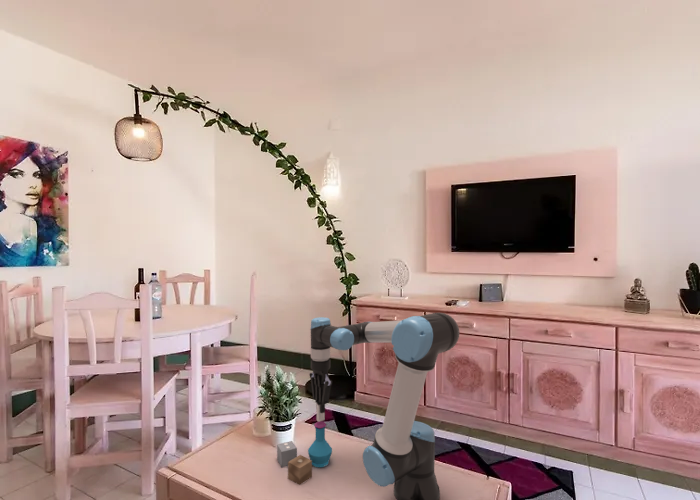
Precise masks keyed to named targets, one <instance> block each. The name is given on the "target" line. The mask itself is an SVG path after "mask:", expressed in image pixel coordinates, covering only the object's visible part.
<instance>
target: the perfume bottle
mask: <svg viewBox="0 0 700 500" xmlns="http://www.w3.org/2000/svg"><path fill="white" fill-rule="evenodd" d="M313 426H314V429H315V439H314V440H313V442H312V444H310V446H309V448H308V449H307V453H308V458H309V459H310V460H312V467H315V468H324V467H326V466H328V465H329V461H330V459H331V456H332V453H333V448H332V447H331V445H330V443H329V442H328V441H327V440H326V435H325V434H326V431H325V430H326V427H327V423H326V422H325V421H324V420H323V421H320V422H318V421H317V422H315V423H314V425H313Z"/></svg>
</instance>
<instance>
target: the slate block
mask: <svg viewBox="0 0 700 500" xmlns="http://www.w3.org/2000/svg"><path fill="white" fill-rule="evenodd" d="M297 456H298V447H297V446H296V444H295V443H294V442H293V441H292V440H290V441H286V442H281V443H277V444H276V460H277V463H278V465H279V466H280V468H285V467H288V462H289V461H291V460H292V459H294V458H296V457H297Z"/></svg>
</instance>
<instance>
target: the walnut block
mask: <svg viewBox="0 0 700 500" xmlns="http://www.w3.org/2000/svg"><path fill="white" fill-rule="evenodd" d="M312 477H313V465H312V460H310V458H309V457H308V458H307V457H305V456H303V455H301V454H299V455H297V457H296V458H294V459H292V460H291V461H289V462H288V466H287V479H288V480H289V481H292V482H294V483H295V484H297V485H299V486H301V485H302V484H304V483H305V482H307V481H309V480H310V479H311V478H312Z"/></svg>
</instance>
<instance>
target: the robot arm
mask: <svg viewBox="0 0 700 500" xmlns="http://www.w3.org/2000/svg"><path fill="white" fill-rule="evenodd" d="M310 321H311V322H310V329H309V330H310V369H311V370H312V372H310V373H309V374H308V375H309V378H310V384H311V392H312V400H314V401H315V403H316V404H315V405H316V406H315V407H316V421H317V422H320V421H323V422H324V421H325V417H326V416H325V415H326V412H325V411H326V405H327V404H329V401H330V396H331V388H332V385H333V380H332V379H330V378H329V370H330V369H331V359H330V358H331V348H333V349H335V350H338V351H348V350H350V349H351V348H352V347H353V346H356V345H360V344H368V343H369V344H371V343H376V344H377V343H380V344H381V343H384V344H385V343H390V344H391V345H392V346H393V347H392V350H393V352H394V357H395V360H396V361H397V364H398V365H397V368H396V372H395V374H394V375H395V376H394V379H393V384H392V387H391V393H390V396H389V400H388V403H387V408H386V412H385V416H384V420H383V424H382V426H381V427H379V428H378V429H377V430H376V432H375V435H374V438H373V443H372V444H371V445H367V447H366V448H364V450H363V453H362V461H363V463H362V464H363V466H364V468H365V471H366V473H367V475H368V477H369V478H370V479H371V480H372V481H373V483H374V484H375V485H377V486H379V487H388V486H389V485H393V495H394V497H395V499H396V500H440V498H441V495H440V492H441V491H440V486H439V484H438V480H437V477H436V473H435V460H436V459H435V455H436V454H435V452H436V451H435V447H436V446H435V443H436V439H435V432H434V429H433V428H432V427H431V426H430V425H429V424H427V423H425V422H421V421H417V420H415V419H416V415H417V412H418V407H419V404H420V400H421V397H422V395H423V394H422V393H423V390H424V387H425V383H426V379H427V375H428V373H429V372H432V371H433V370H434V369H435V366H436V363H437V359H438V356H439V354H442V353H445V352H448V351H450V350H451V349H453V348H454V347H456V345H457V343H458V341H459V339H460V327H459V324H458V323H457V322H456V320H455V319H454V317H452V316H451V315H449V314H447V313H443V312H433V313H429V314H428V313H427V314H424V315H423V314H422V315H413V316H409V317H407V318H404V319H401V320H389V321H387V320H385V321H364V322H360V323H354V324H349V325H342V326H335V325H332V324H331V319H330V318H329V317H326V316H325V317H322V316H321V317H314V318H312V319H311V320H310Z"/></svg>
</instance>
